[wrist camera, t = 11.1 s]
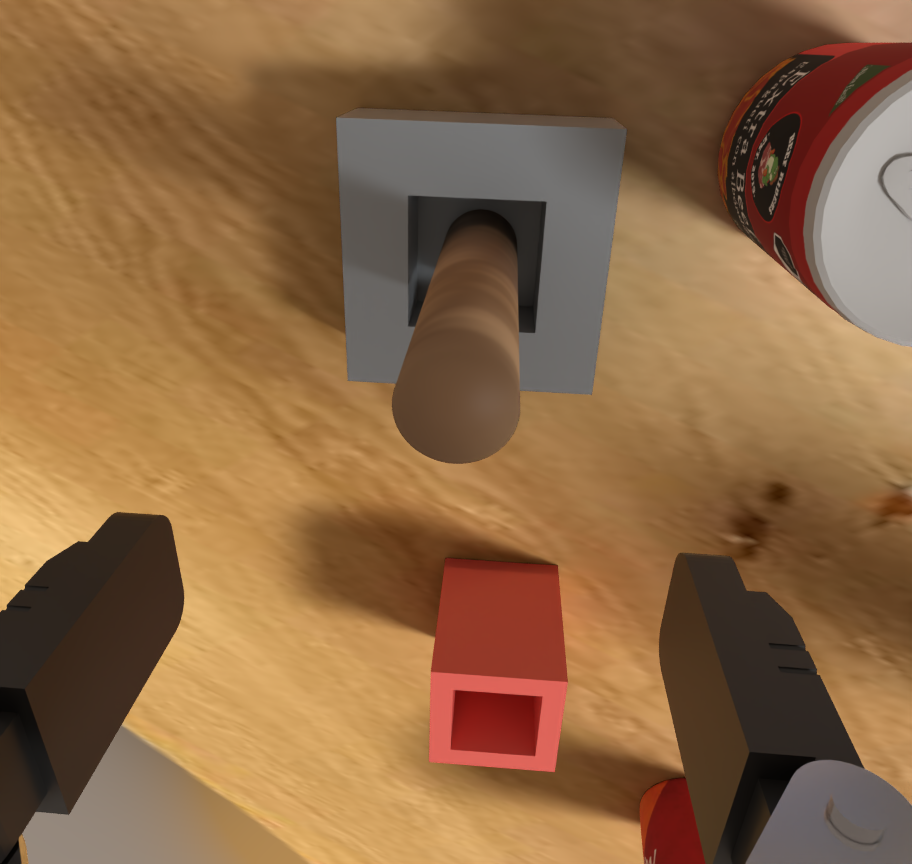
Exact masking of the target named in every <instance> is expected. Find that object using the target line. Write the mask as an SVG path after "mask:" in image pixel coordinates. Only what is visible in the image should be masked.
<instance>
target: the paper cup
mask: <svg viewBox="0 0 912 864" xmlns="http://www.w3.org/2000/svg"><path fill="white" fill-rule="evenodd" d="M640 823H641V836H642V846H643V856H644V864H706V863H705V859H704V855H703V850H702V846H701V842H700V837H699V833H698V828H697V824H696V820H695V815H694V811H693V807H692V802H691V798H690V794H689V789H688V785H687V781H686V778H676V779H670V780H666V781H663V782H660V783H658V784H656V785H654V786H653V787H651V788H650V789H649V790H647V791H646V792H645V794H644V795H643V796H642V798H641V801H640Z"/></svg>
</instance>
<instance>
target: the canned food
mask: <svg viewBox="0 0 912 864" xmlns="http://www.w3.org/2000/svg"><path fill="white" fill-rule="evenodd" d="M718 180H719V187H720V193H721V196H722V199H723V202H724V204H725V207H726V209H727V212H728V213H729V215H730V216H731V218H732V219H733V221H734V222H735V224H736V225H737V227H738V228H739V229H740V230H741V231H742V232H743V233H745V234H746V235H747V236H748V237H749V238H750V239H751V240H752V241H753V242H754V243H755V244H757V245H758V246H759V247H760V248H761V249H762V250H764V251H765V252H766V253H767V254H768V255H769V256H771V257H772V258H773V259H774V260H775V261H776V262H777V263H779V264H780V265H781V266H782V267H783V268H784V269H786V270H787V271H788V272H789V273H790V274H791V275H793V276H794V277H795V278H796V279H797V280H798V281H799V282H801V283H802V284H803V285H804V286H805V287H806V288H808V289H809V290H810V291H811V292H812V293H813V294H815V295H816V296H817V297H818V298H819V299H820V300H821V301H823V302H824V303H825V304H826V305H827V306H828V307H830V308H831V309H833V310H834V311H836V312H837V313H838V314H839V315H840V316H842V317H843V318H844V319H845V320H847V321H848V322H850V323H852V324H854V325H855V326H857V327H859V328H860V329H862V330H864V331H865V332H868V333H870V334H872V335H873V336H875V337H877V338H880V339H883V340H886V341H889V342H892V343H895V344H898V345H902V346H910V347H912V43H840V44H829V45H823V46H820V47H816V48H813V49H809V50H806V51H803V52H801V53H799V54H797V55H795V56H793V57H791V58H789V59H787V60H785V61H783V62H781V63H780V64H778V65H777V66H776V67H774V68H773V69H772V70H770V71H769V72H768V73H766V74H765V75H764V76H762V77H761V78H760V79H759V80H758V82H757V83H756V84H755V85H754V86H753V87H752V88H751V89H750V90H749V91H748V92H747V93H746V94H745V96H744V97H743V99H742V100H741V102H740V103H739V105H738V106H737V108H736V109H735V111H734V112H733V114H732V116H731V118H730V121H729V123H728V125H727V127H726V130H725V132H724V134H723V139H722V143H721V147H720V151H719V158H718Z"/></svg>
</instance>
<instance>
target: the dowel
mask: <svg viewBox="0 0 912 864" xmlns="http://www.w3.org/2000/svg"><path fill="white" fill-rule="evenodd" d="M392 411H393V416H394V420H395V423H396V425H397V428H398V429H399V431H400V433H401V434H402V436H403V437H404V439H405V440H406V441H407V442H408V443H409V444H410V445H411V446H412V447H413V448H415V449H416V450H417V451H419V452H420V453H422V454H423V455H425V456H427V457H429V458H432V459H434V460H437V461H441V462H445V463H453V464H463V463H471V462H475V461H479V460H482V459H485V458H487V457H489V456H491V455H493V454H494V453H496V452H497V451H499V450H500V449H501V448H502V447H503V446H504V445H505V444H506V443H507V442H508V441H509V440H510V438H511V437H512V435H513V433H514V431H515V429H516V427H517V424H518V421H519V416H520V374H519V319H518V265H517V239H516V235H515V232H514V230H513V228H512V226H511V225H510V223H509V222H508V221H507V220H506V219H505V218H504V217H502V216H501V215H499V214H498V213H496V212H493V211H490V210H483V209H478V210H472V211H469V212H466V213H464V214H463V215H461V216H459V217H458V218H457V219H456V220H455V221H454V222H453V223H452V225H451V226H450V228H449V230H448V232H447V235H446V238H445V241H444V244H443V247H442V249H441V252H440V255H439V258H438V261H437V264H436V267H435V270H434V273H433V276H432V279H431V282H430V285H429V288H428V291H427V294H426V297H425V300H424V303H423V306H422V309H421V312H420V315H419V317H418V320H417V323H416V326H415V329H414V332H413V335H412V338H411V341H410V344H409V347H408V350H407V353H406V356H405V359H404V362H403V365H402V368H401V371H400V374H399V377H398V380H397V382H396V385H395V388H394V392H393V397H392Z"/></svg>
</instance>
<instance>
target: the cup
mask: <svg viewBox="0 0 912 864" xmlns="http://www.w3.org/2000/svg"><path fill="white" fill-rule="evenodd" d="M567 684H568V679H567V668H566V656H565V645H564V633H563V621H562V610H561V598H560V586H559V575H558V565H543V564H528V563H513V562H499V561H484V560H469V559H454V558H445V566H444V574H443V582H442V590H441V597H440V605H439V613H438V621H437V628H436V636H435V644H434V652H433V659H432V667H431V692H430V743H429V762H436V763H448V764H461V765H473V766H486V767H498V768H511V769H523V770H535V771H548V772H555V766H556V759H557V752H558V745H559V739H560V732H561V725H562V718H563V711H564V704H565V697H566V691H567Z"/></svg>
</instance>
